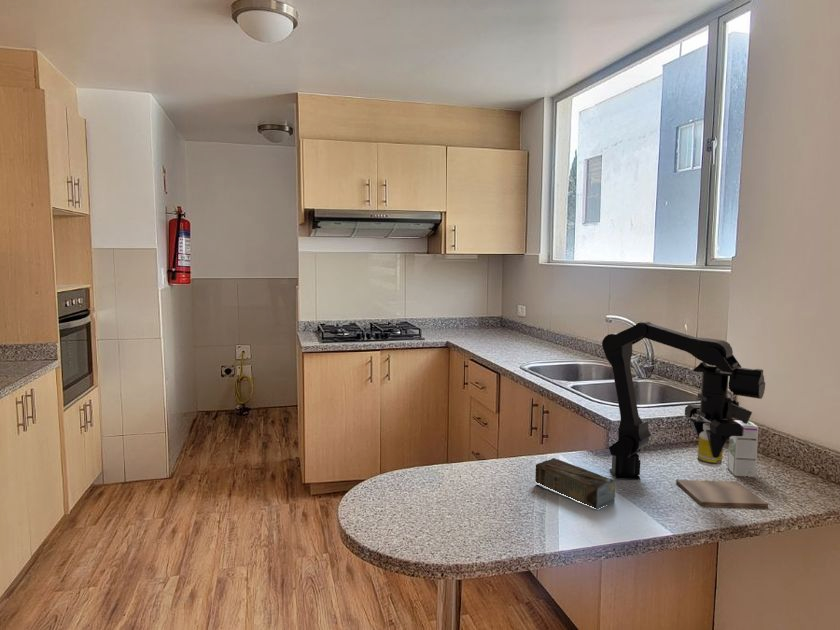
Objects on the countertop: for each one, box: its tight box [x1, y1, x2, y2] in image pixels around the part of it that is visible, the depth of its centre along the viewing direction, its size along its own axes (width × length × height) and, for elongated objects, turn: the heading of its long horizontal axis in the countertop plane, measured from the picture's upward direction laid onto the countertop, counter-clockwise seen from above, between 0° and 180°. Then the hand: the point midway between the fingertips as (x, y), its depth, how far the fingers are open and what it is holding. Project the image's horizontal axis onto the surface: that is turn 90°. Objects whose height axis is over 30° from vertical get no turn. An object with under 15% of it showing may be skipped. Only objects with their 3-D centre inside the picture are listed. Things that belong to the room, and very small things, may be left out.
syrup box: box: [727, 419, 759, 478], centre depth 158 cm, size 6×6×14 cm
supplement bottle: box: [696, 423, 724, 468], centre depth 140 cm, size 5×5×10 cm
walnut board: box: [675, 479, 769, 509], centre depth 143 cm, size 16×14×1 cm
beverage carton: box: [534, 457, 617, 510], centre depth 142 cm, size 8×19×7 cm, turn 38°
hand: (710, 453), depth 140 cm, fingers closed on supplement bottle, 5 cm apart
